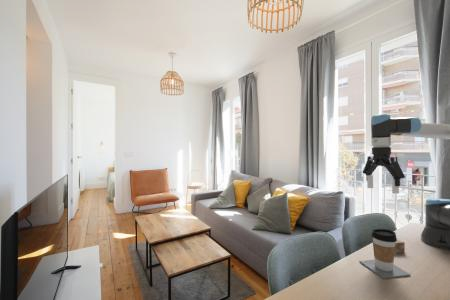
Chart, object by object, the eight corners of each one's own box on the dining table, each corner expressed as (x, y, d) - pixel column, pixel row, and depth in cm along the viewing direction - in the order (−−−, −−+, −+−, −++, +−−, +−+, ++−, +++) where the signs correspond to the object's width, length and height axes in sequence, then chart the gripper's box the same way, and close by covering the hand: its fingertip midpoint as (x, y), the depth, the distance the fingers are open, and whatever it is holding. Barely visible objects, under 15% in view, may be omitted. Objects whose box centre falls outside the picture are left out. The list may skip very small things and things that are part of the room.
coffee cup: (401, 274, 85) (401, 236, 85) (377, 272, 87) (377, 234, 86) (389, 262, 93) (389, 228, 93) (367, 261, 95) (367, 227, 95)
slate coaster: (383, 260, 97) (383, 258, 97) (410, 275, 85) (410, 274, 85) (359, 262, 95) (359, 260, 95) (383, 278, 83) (383, 277, 83)
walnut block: (394, 247, 108) (394, 237, 108) (404, 252, 104) (404, 242, 103) (386, 248, 108) (386, 238, 108) (395, 253, 103) (395, 243, 103)
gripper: (354, 147, 116) (355, 186, 117) (400, 146, 92) (401, 196, 92) (366, 146, 118) (367, 185, 118) (414, 146, 93) (415, 195, 94)
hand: (382, 190), depth 105 cm, fingers open, 13 cm apart
